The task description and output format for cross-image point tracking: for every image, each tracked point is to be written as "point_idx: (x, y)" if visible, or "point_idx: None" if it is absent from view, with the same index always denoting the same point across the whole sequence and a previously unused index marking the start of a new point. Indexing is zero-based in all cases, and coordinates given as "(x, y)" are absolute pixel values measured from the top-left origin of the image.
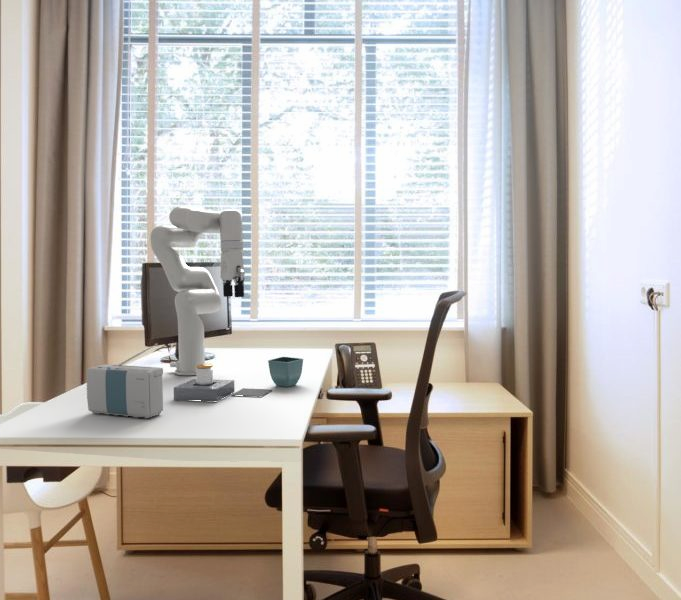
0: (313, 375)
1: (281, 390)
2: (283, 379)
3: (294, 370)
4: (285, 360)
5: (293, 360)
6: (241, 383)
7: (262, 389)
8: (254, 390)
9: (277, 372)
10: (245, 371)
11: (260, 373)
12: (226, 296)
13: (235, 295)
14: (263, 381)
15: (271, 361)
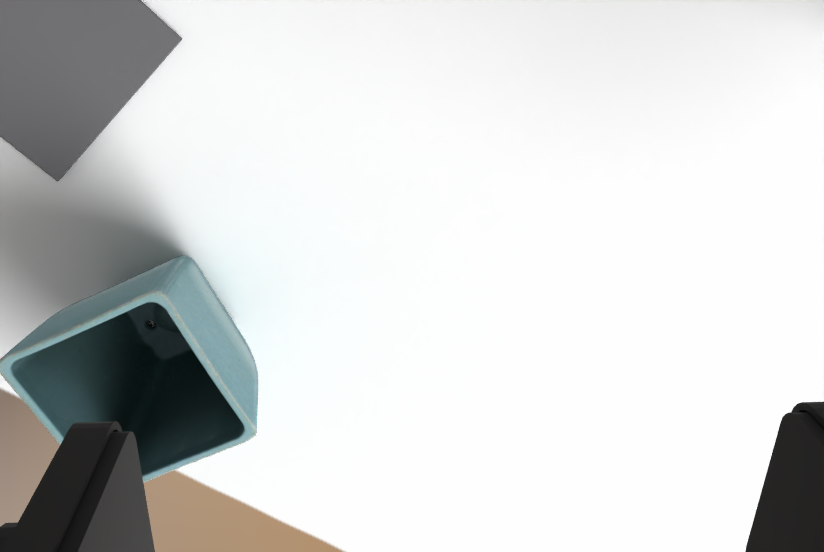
0: (364, 530)
1: (45, 228)
2: (97, 293)
3: (72, 383)
4: (235, 423)
5: (174, 452)
6: (385, 116)
7: (82, 131)
8: (74, 75)
9: (114, 289)
10: (737, 299)
11: (610, 343)
12: (783, 444)
13: (62, 445)
14: (364, 256)
15: (126, 300)
